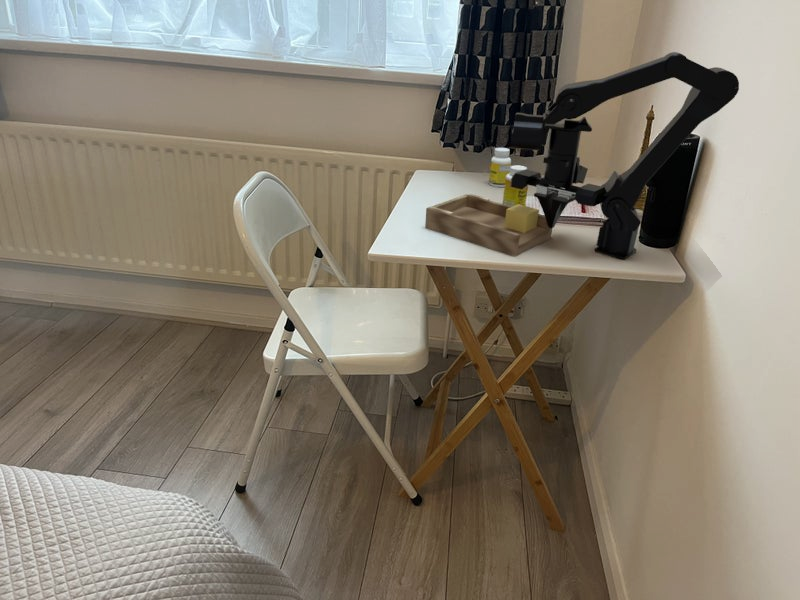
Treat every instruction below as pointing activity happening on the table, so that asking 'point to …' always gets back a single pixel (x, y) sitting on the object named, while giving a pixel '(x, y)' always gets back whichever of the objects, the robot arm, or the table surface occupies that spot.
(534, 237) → the wooden tray
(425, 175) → the table surface
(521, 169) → the supplement bottle
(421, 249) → the table surface
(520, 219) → the block
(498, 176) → the supplement bottle
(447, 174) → the table surface
